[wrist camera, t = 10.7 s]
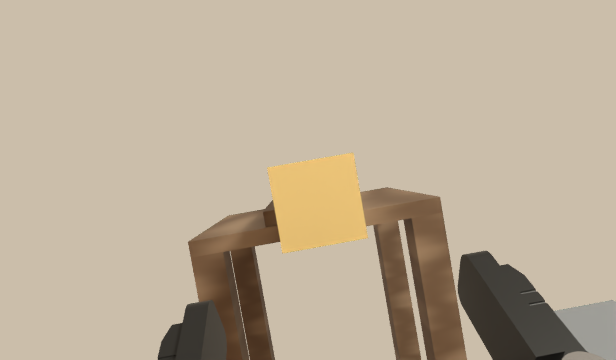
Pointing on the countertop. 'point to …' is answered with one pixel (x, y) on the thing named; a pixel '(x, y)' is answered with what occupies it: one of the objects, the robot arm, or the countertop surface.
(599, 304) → the block
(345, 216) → the yellow bar
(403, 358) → the stool
